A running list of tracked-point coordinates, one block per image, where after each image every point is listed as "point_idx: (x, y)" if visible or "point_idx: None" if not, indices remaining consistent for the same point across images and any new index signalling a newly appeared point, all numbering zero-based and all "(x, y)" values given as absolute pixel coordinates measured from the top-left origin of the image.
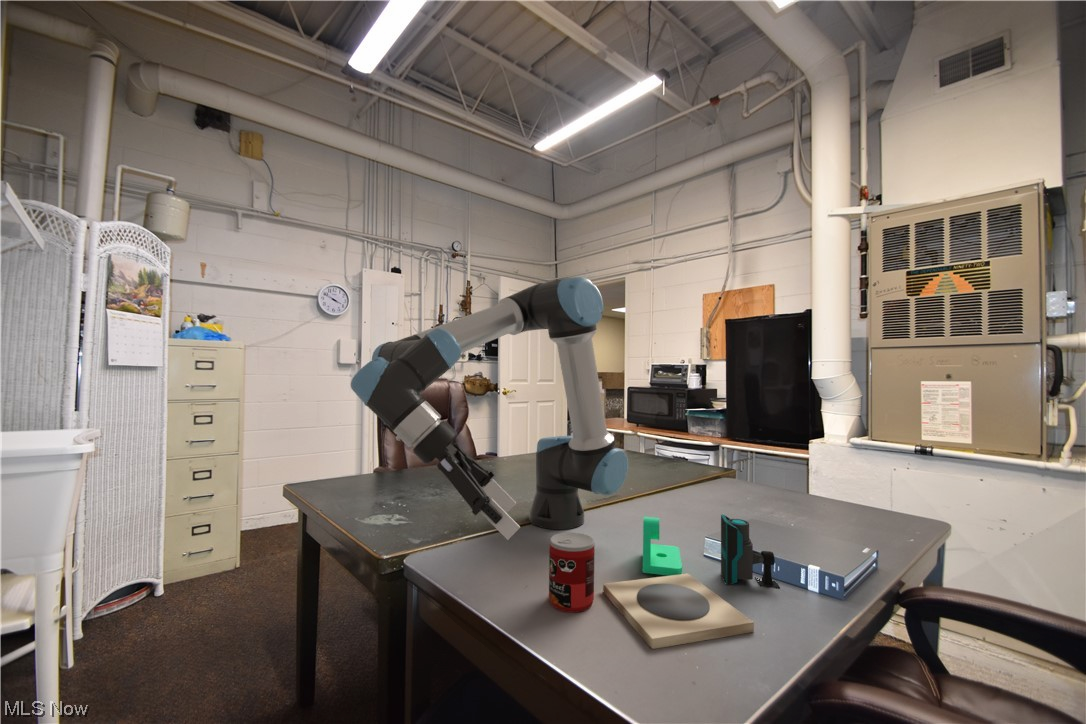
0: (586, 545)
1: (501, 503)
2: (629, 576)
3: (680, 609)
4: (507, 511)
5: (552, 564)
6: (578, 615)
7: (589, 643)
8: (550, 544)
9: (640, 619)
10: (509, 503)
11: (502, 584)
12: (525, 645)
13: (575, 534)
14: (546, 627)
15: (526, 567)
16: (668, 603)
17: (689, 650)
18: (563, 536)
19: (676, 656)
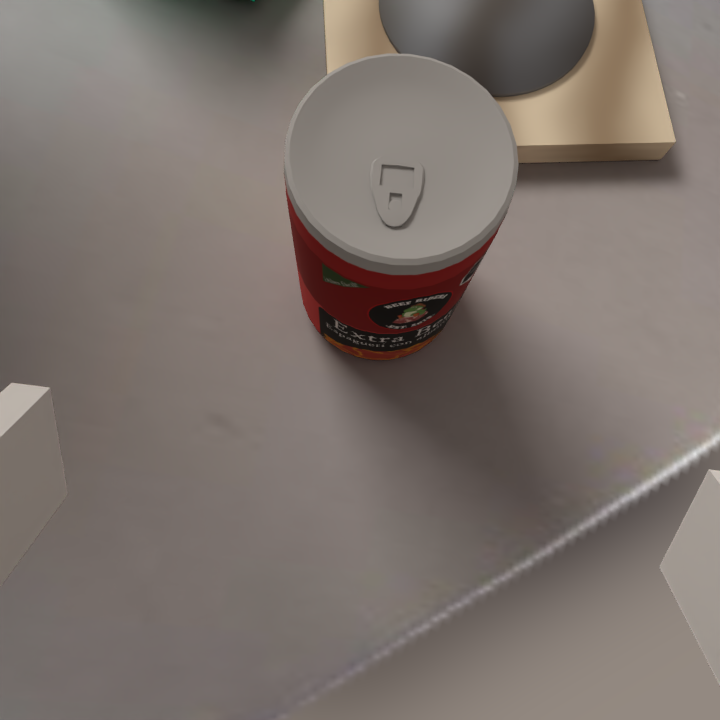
0: (492, 110)
1: (7, 538)
2: (240, 50)
3: (544, 9)
4: (61, 479)
5: (425, 306)
6: (467, 291)
7: (622, 306)
8: (405, 273)
9: (575, 130)
10: (29, 453)
11: (176, 518)
12: (619, 501)
13: (315, 113)
14: (525, 410)
15: (43, 386)
16: (507, 22)
17: (669, 81)
18: (320, 179)
19: (691, 120)
